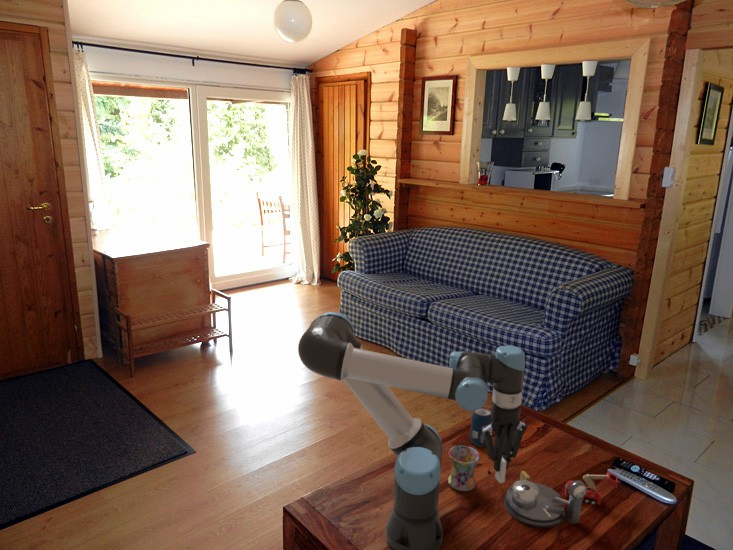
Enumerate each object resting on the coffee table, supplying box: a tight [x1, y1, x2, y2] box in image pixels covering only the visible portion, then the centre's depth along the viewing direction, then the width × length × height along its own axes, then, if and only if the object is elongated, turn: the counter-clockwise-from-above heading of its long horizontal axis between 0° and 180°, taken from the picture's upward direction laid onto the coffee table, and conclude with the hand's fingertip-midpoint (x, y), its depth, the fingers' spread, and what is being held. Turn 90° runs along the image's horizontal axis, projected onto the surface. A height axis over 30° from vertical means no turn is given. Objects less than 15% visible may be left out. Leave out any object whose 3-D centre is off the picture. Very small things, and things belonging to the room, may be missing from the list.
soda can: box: [469, 406, 492, 448], centre depth 192 cm, size 7×7×12 cm
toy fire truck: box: [564, 472, 619, 505], centre depth 163 cm, size 3×14×10 cm, turn 68°
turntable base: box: [503, 492, 567, 529], centre depth 160 cm, size 17×17×1 cm
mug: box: [447, 445, 481, 492], centre depth 170 cm, size 12×9×11 cm
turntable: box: [506, 470, 566, 523], centre depth 160 cm, size 16×16×6 cm
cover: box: [512, 479, 539, 509], centre depth 158 cm, size 7×7×5 cm
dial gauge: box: [555, 479, 587, 525], centre depth 155 cm, size 6×5×13 cm
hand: (499, 479), depth 154 cm, fingers closed
